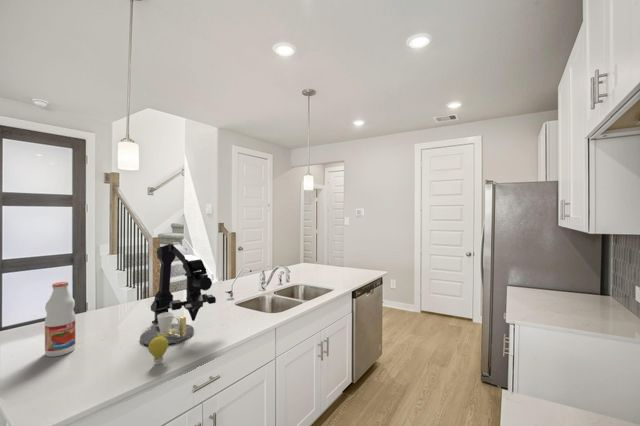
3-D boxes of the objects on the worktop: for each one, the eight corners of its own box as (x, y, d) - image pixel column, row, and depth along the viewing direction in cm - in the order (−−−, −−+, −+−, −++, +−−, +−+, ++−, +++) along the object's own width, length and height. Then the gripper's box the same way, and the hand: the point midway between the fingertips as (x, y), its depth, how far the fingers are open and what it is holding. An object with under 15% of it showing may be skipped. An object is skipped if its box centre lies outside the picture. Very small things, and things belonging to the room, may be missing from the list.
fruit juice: (65, 345, 128) (65, 279, 127) (81, 348, 125) (81, 281, 124) (38, 355, 119) (38, 284, 118) (55, 359, 116) (55, 286, 116)
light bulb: (172, 360, 115) (172, 335, 115) (157, 369, 109) (157, 342, 109) (159, 357, 118) (159, 332, 117) (143, 366, 111) (144, 339, 111)
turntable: (128, 339, 132) (128, 318, 132) (171, 322, 152) (171, 304, 152) (163, 349, 123) (163, 326, 123) (204, 330, 144) (204, 310, 144)
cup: (161, 328, 142) (162, 311, 142) (182, 329, 142) (183, 312, 142) (153, 335, 135) (153, 317, 135) (175, 335, 135) (175, 317, 135)
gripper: (174, 294, 125) (174, 331, 125) (219, 287, 136) (219, 321, 136) (169, 288, 134) (169, 323, 134) (212, 282, 145) (212, 314, 145)
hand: (193, 320), depth 137 cm, fingers closed
